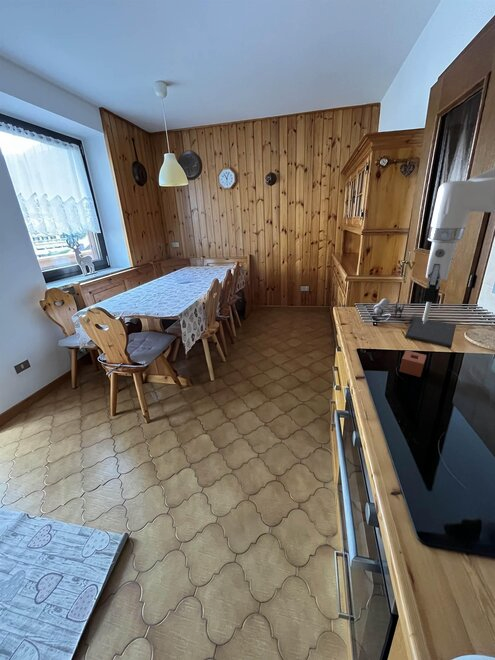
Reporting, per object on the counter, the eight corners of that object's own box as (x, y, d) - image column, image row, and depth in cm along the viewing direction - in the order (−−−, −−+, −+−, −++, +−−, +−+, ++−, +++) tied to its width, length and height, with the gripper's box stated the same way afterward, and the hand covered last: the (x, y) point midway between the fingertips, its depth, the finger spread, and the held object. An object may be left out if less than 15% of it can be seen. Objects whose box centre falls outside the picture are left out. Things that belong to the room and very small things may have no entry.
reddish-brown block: (423, 368, 92) (426, 355, 90) (420, 377, 88) (423, 364, 86) (403, 362, 96) (405, 350, 93) (399, 371, 91) (402, 358, 89)
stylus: (426, 323, 85) (437, 281, 79) (426, 324, 84) (436, 282, 78) (421, 322, 86) (431, 281, 80) (421, 323, 85) (431, 282, 79)
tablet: (457, 327, 116) (458, 324, 115) (453, 348, 102) (454, 345, 101) (413, 319, 125) (414, 316, 124) (404, 337, 111) (405, 335, 110)
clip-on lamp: (390, 331, 121) (405, 310, 131) (393, 320, 117) (409, 299, 127) (363, 322, 128) (380, 303, 137) (365, 311, 124) (382, 292, 133)
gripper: (461, 240, 66) (442, 312, 74) (464, 230, 77) (447, 294, 85) (424, 238, 70) (410, 307, 78) (432, 229, 81) (419, 290, 89)
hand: (429, 300), depth 82 cm, fingers closed on stylus, 1 cm apart
